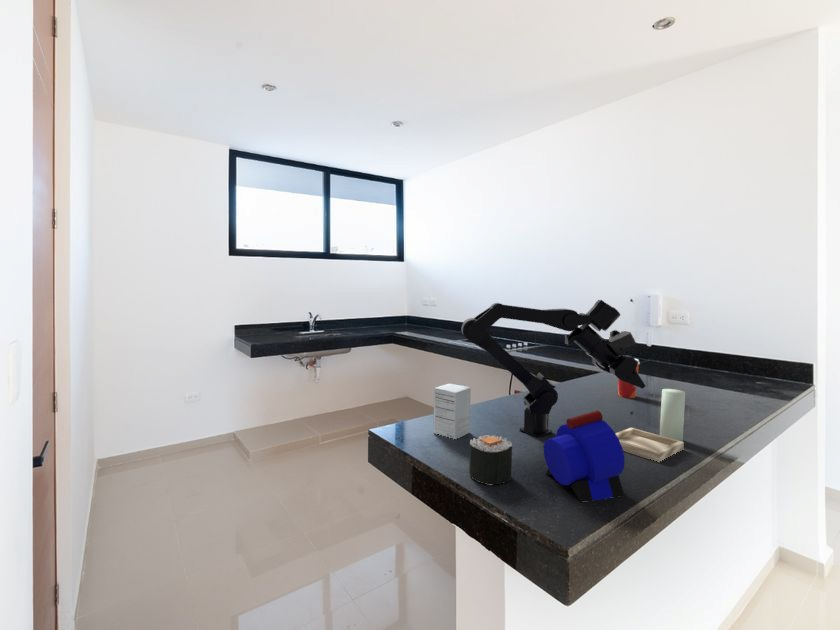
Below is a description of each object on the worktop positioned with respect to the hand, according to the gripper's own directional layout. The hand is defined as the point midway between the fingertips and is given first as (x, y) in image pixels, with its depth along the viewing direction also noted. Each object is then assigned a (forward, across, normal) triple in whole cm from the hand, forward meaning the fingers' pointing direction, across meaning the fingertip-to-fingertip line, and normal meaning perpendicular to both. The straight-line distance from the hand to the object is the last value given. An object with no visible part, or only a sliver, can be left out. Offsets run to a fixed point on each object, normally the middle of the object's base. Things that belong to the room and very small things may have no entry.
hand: (636, 383), depth 111 cm
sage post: (+16, -2, +5) cm, 17 cm away
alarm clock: (-8, -31, +26) cm, 42 cm away
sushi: (-21, -30, +38) cm, 52 cm away
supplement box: (-27, -5, +43) cm, 51 cm away
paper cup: (+21, +44, +1) cm, 48 cm away
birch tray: (+9, -9, +12) cm, 17 cm away
